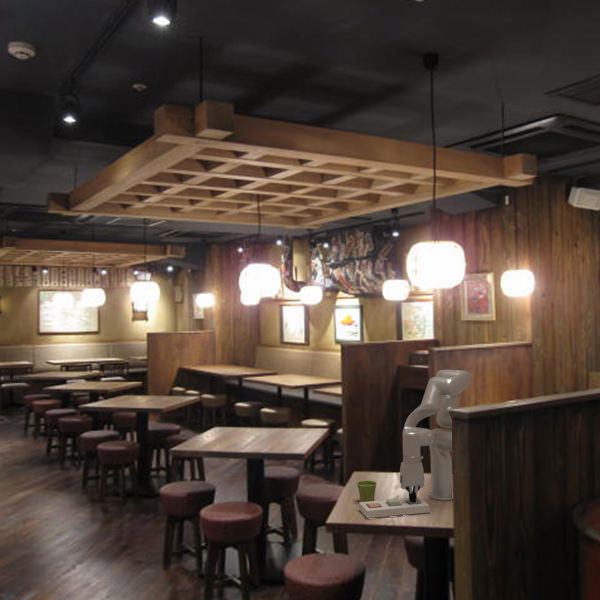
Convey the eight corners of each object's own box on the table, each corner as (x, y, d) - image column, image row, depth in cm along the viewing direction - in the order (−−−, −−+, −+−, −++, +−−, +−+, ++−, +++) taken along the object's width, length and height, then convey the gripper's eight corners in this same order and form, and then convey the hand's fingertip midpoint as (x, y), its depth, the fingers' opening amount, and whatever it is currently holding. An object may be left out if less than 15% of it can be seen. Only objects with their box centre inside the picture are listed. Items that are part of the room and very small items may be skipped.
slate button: (416, 506, 264) (415, 499, 264) (420, 509, 260) (419, 502, 260) (406, 507, 263) (406, 500, 264) (410, 510, 259) (410, 503, 259)
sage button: (396, 505, 263) (396, 498, 263) (400, 508, 258) (400, 501, 258) (387, 506, 262) (387, 499, 262) (390, 509, 257) (390, 502, 257)
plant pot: (352, 503, 274) (352, 483, 274) (364, 497, 281) (363, 479, 281) (370, 506, 268) (369, 487, 268) (381, 501, 275) (380, 482, 275)
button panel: (418, 504, 269) (418, 497, 269) (429, 513, 257) (429, 505, 257) (358, 510, 263) (358, 502, 263) (367, 519, 251) (367, 511, 251)
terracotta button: (377, 509, 261) (377, 502, 261) (380, 513, 256) (380, 506, 257) (367, 510, 260) (367, 503, 260) (370, 514, 256) (370, 506, 256)
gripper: (424, 456, 267) (425, 497, 267) (392, 458, 264) (393, 500, 264) (431, 460, 260) (432, 502, 259) (398, 462, 257) (399, 505, 256)
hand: (412, 501), depth 262 cm, fingers closed
